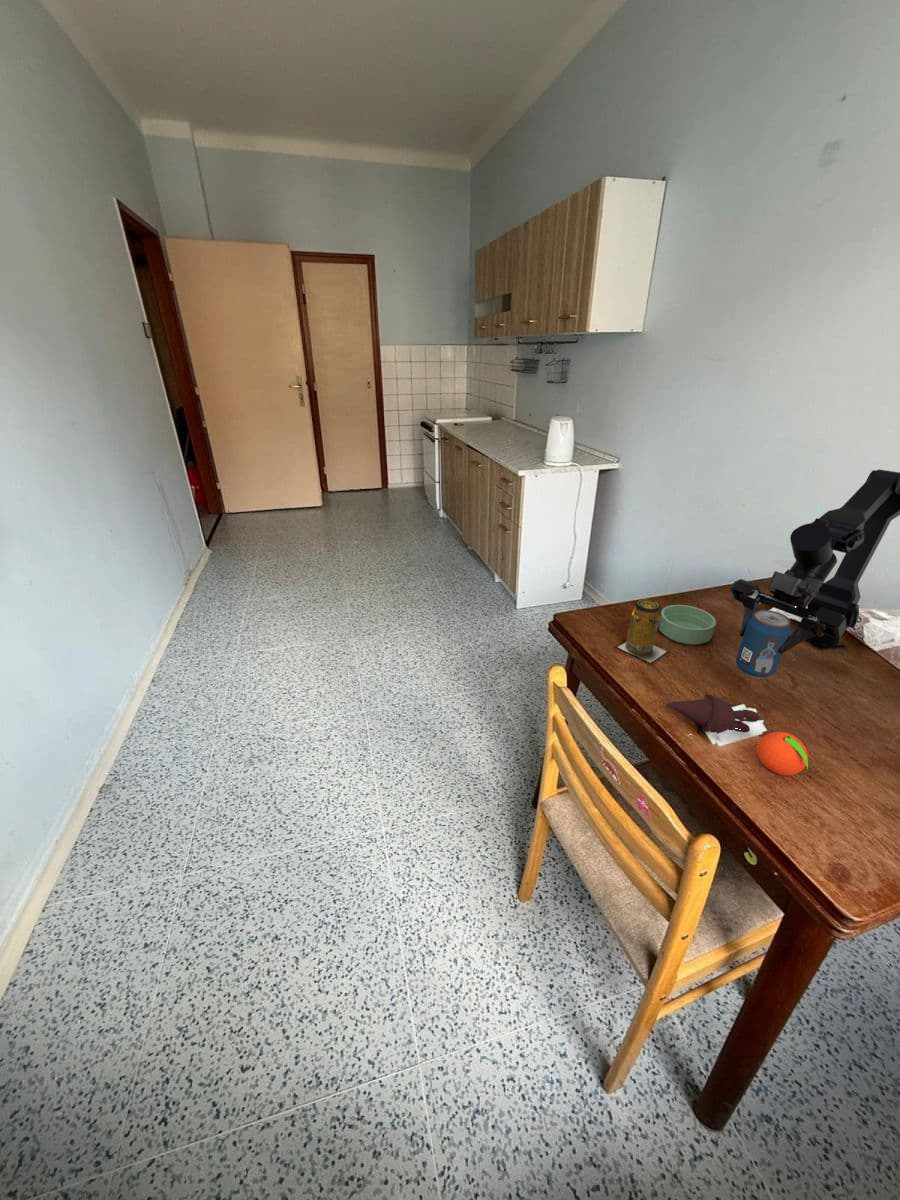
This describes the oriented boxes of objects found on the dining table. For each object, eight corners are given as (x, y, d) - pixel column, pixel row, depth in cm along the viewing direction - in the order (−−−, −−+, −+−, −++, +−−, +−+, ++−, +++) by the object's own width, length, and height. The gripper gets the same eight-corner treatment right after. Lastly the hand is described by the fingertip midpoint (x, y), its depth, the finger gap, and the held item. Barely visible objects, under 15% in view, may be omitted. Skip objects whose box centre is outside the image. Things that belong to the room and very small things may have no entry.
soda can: (753, 656, 97) (771, 605, 91) (783, 676, 91) (804, 623, 85) (726, 663, 95) (741, 611, 89) (754, 683, 89) (773, 630, 84)
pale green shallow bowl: (693, 618, 124) (697, 603, 122) (722, 643, 113) (727, 627, 111) (649, 621, 123) (652, 606, 120) (673, 647, 112) (677, 631, 110)
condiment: (634, 637, 116) (642, 594, 111) (666, 651, 110) (677, 607, 105) (617, 648, 112) (625, 604, 106) (650, 664, 106) (660, 618, 101)
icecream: (673, 709, 84) (766, 731, 80) (672, 677, 89) (759, 696, 85) (661, 730, 88) (749, 751, 85) (661, 698, 94) (743, 717, 90)
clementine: (816, 785, 77) (832, 753, 73) (779, 793, 75) (794, 761, 72) (776, 749, 83) (789, 719, 80) (742, 756, 82) (754, 725, 79)
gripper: (748, 540, 91) (702, 607, 91) (865, 573, 77) (811, 652, 77) (757, 567, 98) (715, 629, 98) (865, 601, 85) (816, 673, 84)
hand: (759, 643), depth 89 cm, fingers closed on soda can, 7 cm apart
